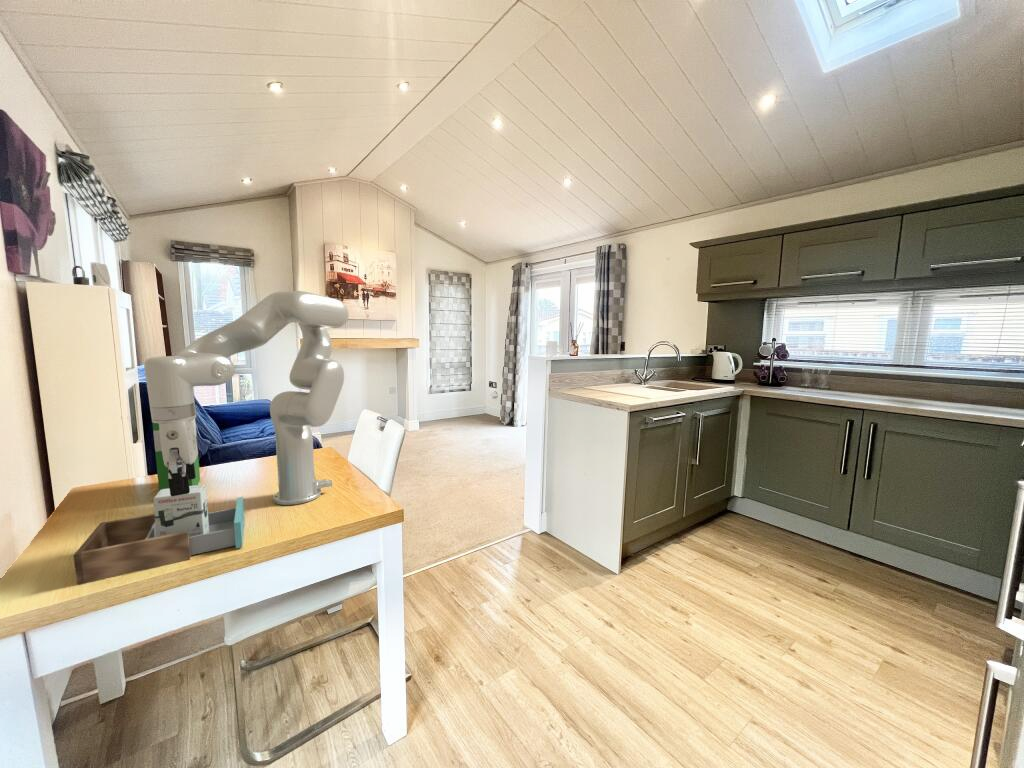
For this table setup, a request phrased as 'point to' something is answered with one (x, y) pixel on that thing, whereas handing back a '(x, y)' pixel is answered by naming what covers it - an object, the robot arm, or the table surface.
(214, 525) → the tray
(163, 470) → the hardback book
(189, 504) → the ink box
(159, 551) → the storage unit
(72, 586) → the table surface
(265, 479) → the table surface
